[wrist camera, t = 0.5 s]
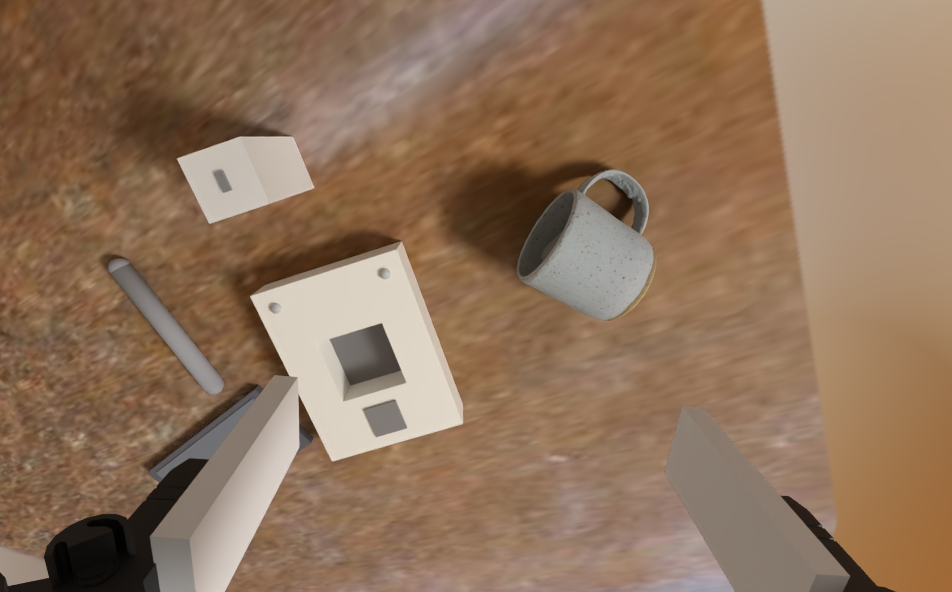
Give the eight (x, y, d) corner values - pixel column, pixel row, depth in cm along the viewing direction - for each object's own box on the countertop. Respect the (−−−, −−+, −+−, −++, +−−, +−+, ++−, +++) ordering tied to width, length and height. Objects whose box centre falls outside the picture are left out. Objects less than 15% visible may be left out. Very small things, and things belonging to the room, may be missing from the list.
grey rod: (112, 261, 39) (98, 266, 37) (128, 252, 39) (114, 257, 37) (216, 391, 43) (207, 400, 41) (231, 384, 43) (222, 393, 41)
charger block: (244, 153, 36) (174, 158, 28) (292, 136, 36) (238, 136, 27) (267, 204, 38) (207, 224, 29) (314, 188, 37) (268, 203, 28)
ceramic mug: (591, 309, 41) (620, 344, 34) (509, 264, 40) (521, 291, 32) (664, 200, 38) (713, 213, 31) (579, 147, 37) (610, 148, 30)
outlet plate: (265, 284, 40) (248, 297, 37) (401, 241, 39) (396, 249, 36) (340, 440, 45) (331, 462, 41) (462, 405, 44) (462, 425, 41)
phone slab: (152, 467, 45) (146, 473, 44) (258, 384, 42) (254, 390, 42) (208, 513, 47) (204, 520, 46) (313, 437, 44) (310, 443, 43)
